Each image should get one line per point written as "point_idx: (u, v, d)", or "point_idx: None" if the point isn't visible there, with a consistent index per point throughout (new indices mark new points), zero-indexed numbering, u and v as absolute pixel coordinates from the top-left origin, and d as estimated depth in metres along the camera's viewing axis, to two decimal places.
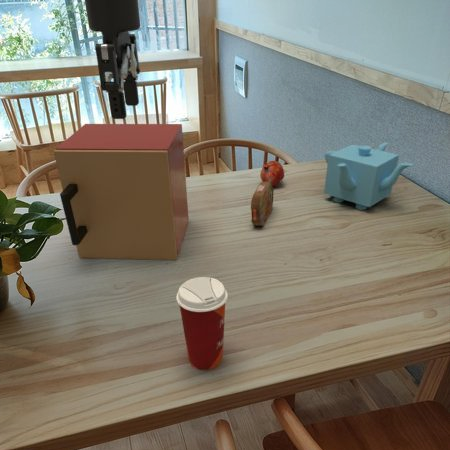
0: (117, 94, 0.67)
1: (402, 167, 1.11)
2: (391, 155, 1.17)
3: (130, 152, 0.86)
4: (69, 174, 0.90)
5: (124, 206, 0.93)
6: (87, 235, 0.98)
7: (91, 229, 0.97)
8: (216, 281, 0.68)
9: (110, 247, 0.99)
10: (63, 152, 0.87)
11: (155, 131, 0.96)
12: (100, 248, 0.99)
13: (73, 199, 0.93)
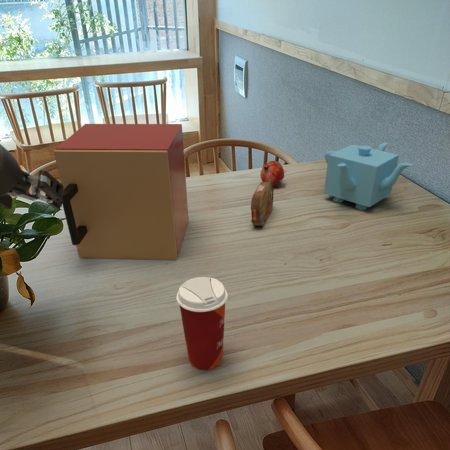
0: None
1: (402, 167, 1.11)
2: (391, 155, 1.17)
3: (130, 152, 0.86)
4: (69, 174, 0.90)
5: (124, 206, 0.93)
6: (87, 235, 0.98)
7: (91, 229, 0.97)
8: (216, 281, 0.68)
9: (110, 247, 0.99)
10: (63, 152, 0.87)
11: (155, 131, 0.96)
12: (100, 248, 0.99)
13: (73, 199, 0.93)
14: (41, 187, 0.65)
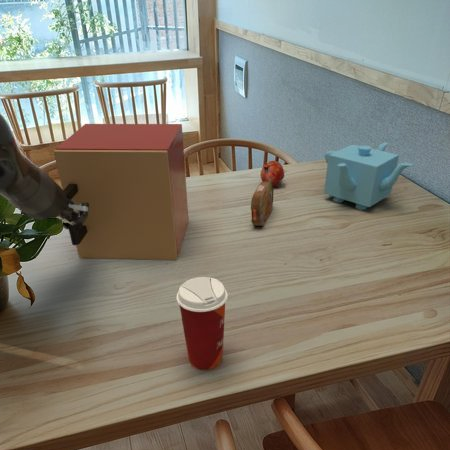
0: None
1: (402, 167, 1.11)
2: (391, 155, 1.17)
3: (130, 152, 0.86)
4: (69, 174, 0.90)
5: (124, 206, 0.93)
6: (87, 235, 0.98)
7: (91, 229, 0.97)
8: (216, 281, 0.68)
9: (110, 247, 0.99)
10: (63, 152, 0.87)
11: (155, 131, 0.96)
12: (100, 248, 0.99)
13: (73, 199, 0.93)
14: (85, 216, 0.82)
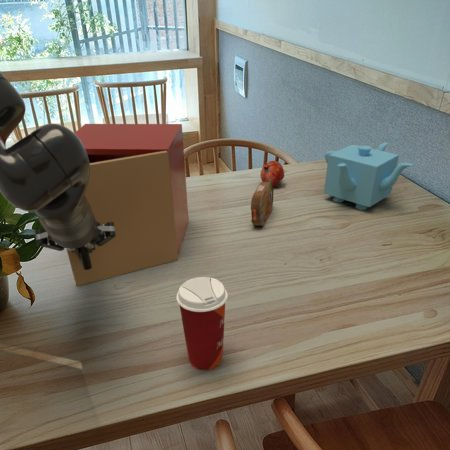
0: None
1: (402, 167, 1.11)
2: (391, 155, 1.17)
3: (132, 158, 0.83)
4: None
5: (126, 217, 0.89)
6: None
7: None
8: (216, 281, 0.68)
9: (111, 265, 0.93)
10: None
11: (155, 131, 0.96)
12: (100, 269, 0.92)
13: None
14: (113, 236, 0.76)
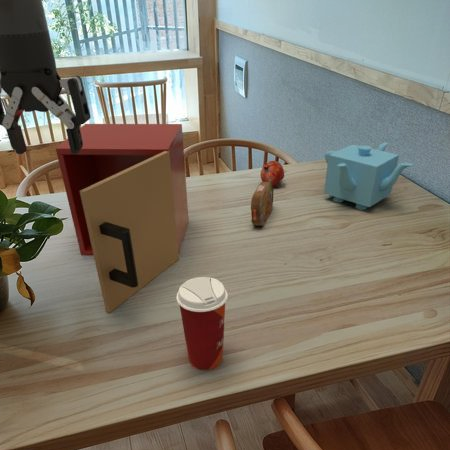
0: (6, 128, 0.66)
1: (402, 167, 1.11)
2: (391, 155, 1.17)
3: (145, 163, 0.81)
4: (98, 213, 0.74)
5: (143, 225, 0.86)
6: None
7: (119, 269, 0.83)
8: (216, 281, 0.68)
9: None
10: (93, 189, 0.72)
11: (155, 131, 0.96)
12: (126, 287, 0.87)
13: (103, 243, 0.77)
14: (71, 81, 0.61)
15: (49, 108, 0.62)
